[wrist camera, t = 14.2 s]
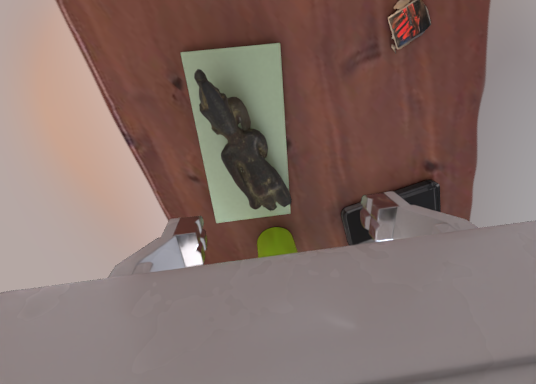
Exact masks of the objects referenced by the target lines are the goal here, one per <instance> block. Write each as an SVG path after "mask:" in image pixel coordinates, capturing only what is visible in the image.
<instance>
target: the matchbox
mask: <svg viewBox="0 0 536 384" xmlns="http://www.w3.org/2000/svg"><path fill="white" fill-rule="evenodd" d="M409 2H410V0H399V1H398V2H397V4H396V5H395V6H394V10H395V9H396V8H397V9H399V10H398V11H396V12H395V14H393V15H390V17H388V22H389V25H390V30H391V31H392V34H393V35H392V38H391V39H393V38H394V41H395V44H396V47H397V49H401V48H403V46H405V45H408V43H410V42H411V41H412V40H414V39H415V38H417V37H420V36H421V35H422V34H423V33H424V31H425V30H426V29H427V28H428V27H429V26H430V25H431V20H430V17H429V14H428V10H427V7H426V6H425V5H424V3H423V2H422V0H414V1H412V2H411V3H409ZM407 3H408V5H406V4H407ZM405 5H406V6H405ZM404 6H405V7H404ZM391 45H392V46H391V48H392V49H393V51H394V52H396V51H395V50H396V48H395V46H393V44H391ZM395 54H396V53H395Z"/></svg>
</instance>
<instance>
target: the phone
mask: <svg viewBox="0 0 536 384" xmlns="http://www.w3.org/2000/svg"><path fill="white" fill-rule="evenodd" d="M393 192H395V193H396V194H397V195H399V196H400V197H401V198H402V199H404V200H405V201H406V202H407V203H409V204H410V205H416V206H420V207H423V208H427V209H430V210H434V211H437V212H441V211H440V186H439V184H438V183H436V182H434V181H432V180H426V181H423V182H420V183H417V184H414V185H411V186H408V187H405V188H402V189H399V190H396V191H393ZM362 208H363V205H362V204H361V202H360V203H357V204H354V205H351V206H349V207H346V208H344V209H343V210H342V212H341V217H342V221H343V225H344V230H345V234H346V238H347V242H348V244H349V246H350V245H357V244H365V243H372V242H375V241H374V240H373V238H372V237H371V236H370V234H369V230H367V229H365V228H364V227H363V225H362V223H361V219H360V211H361V209H362ZM376 242H379V241H376Z"/></svg>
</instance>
